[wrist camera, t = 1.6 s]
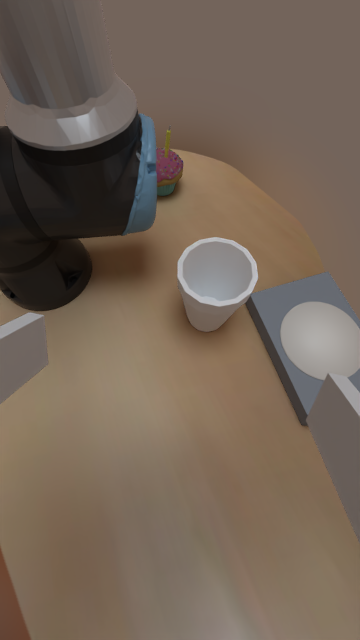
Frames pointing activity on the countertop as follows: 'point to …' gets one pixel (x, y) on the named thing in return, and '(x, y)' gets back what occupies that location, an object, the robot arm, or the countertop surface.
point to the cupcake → (167, 168)
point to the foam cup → (215, 281)
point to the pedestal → (308, 336)
